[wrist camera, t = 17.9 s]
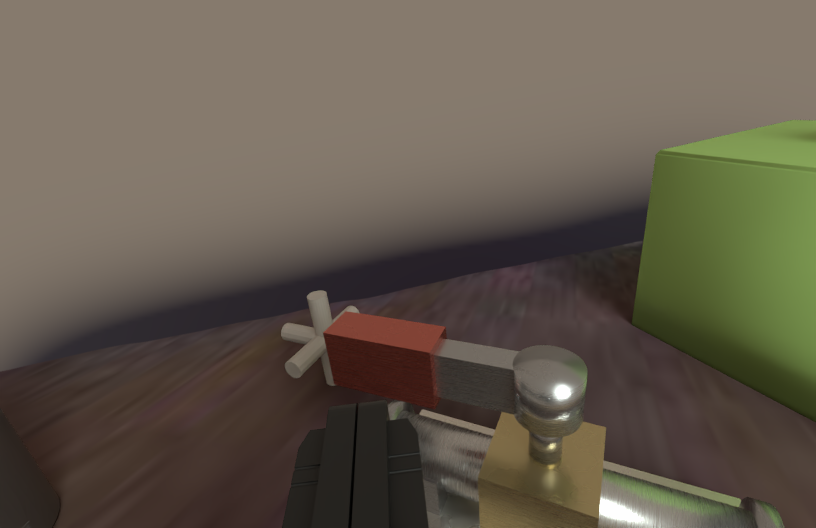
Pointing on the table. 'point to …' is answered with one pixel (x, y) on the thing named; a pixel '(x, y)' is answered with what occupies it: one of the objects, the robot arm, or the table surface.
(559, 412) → the valve lever
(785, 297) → the canister
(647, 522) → the valve fixture
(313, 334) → the pipe connector
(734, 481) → the table surface
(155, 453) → the table surface
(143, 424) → the table surface
